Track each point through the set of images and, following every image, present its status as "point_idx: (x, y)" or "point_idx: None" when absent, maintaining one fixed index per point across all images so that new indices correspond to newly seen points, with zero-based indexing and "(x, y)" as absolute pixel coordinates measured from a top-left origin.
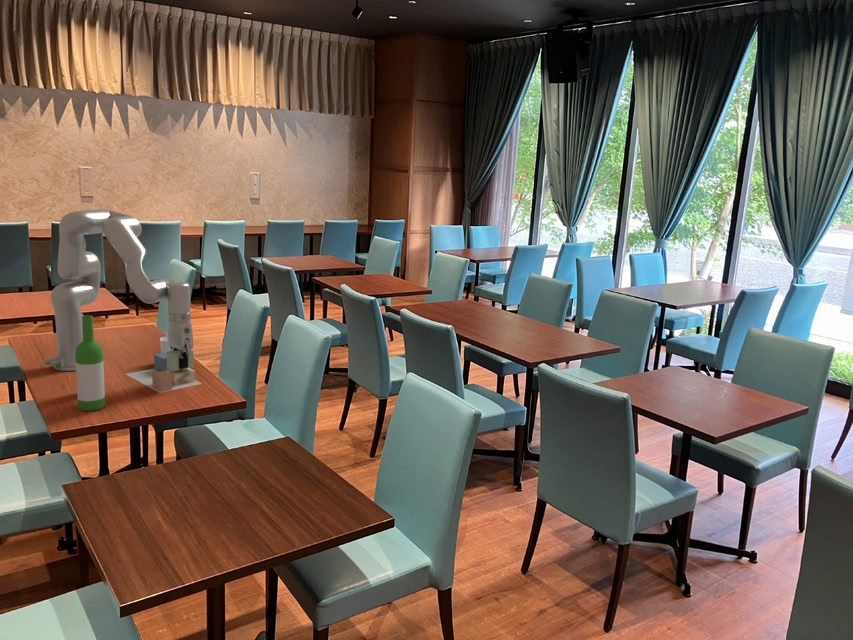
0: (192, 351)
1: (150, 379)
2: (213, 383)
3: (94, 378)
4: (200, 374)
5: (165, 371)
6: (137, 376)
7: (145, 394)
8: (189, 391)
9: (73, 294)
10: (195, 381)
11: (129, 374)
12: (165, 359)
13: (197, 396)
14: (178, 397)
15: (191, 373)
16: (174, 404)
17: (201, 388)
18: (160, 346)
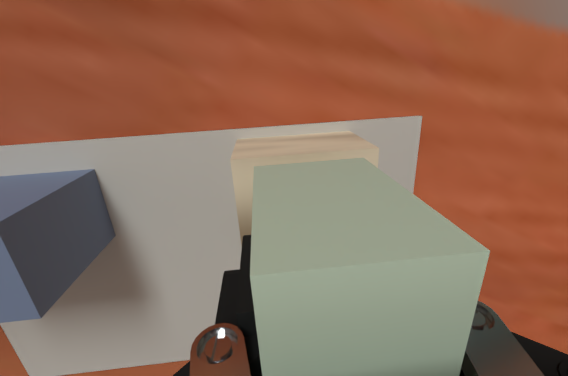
0: (477, 260)
1: (181, 314)
2: (455, 40)
3: None
4: (212, 13)
5: (103, 234)
6: (99, 347)
7: None
8: (466, 225)
9: None
10: (355, 132)
11: (48, 366)
12: (39, 294)
13: (552, 222)
14: (494, 291)
15: None
16: (545, 326)
17: (475, 154)
18: None
